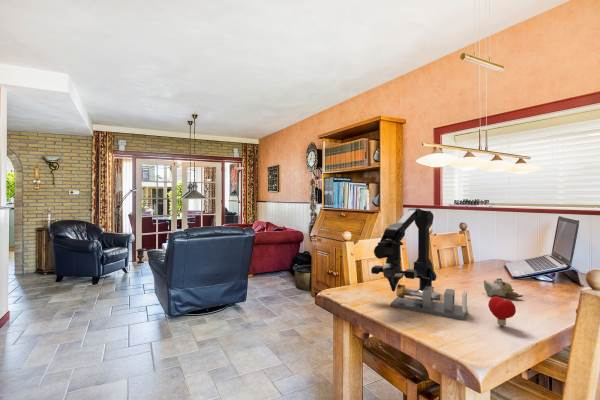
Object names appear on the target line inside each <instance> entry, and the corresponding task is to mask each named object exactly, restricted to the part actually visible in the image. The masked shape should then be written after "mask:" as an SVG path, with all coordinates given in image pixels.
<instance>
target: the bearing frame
mask: <svg viewBox="0 0 600 400" xmlns="http://www.w3.org/2000/svg"><path fill="white" fill-rule="evenodd" d="M432 292H433V293H435V287H434V286H432V287H431V286H426V287H425V288H424V289H423V298H416V297H410V296H405V297H404V298H399V297H397V296H396V298H394V299H393V301H391V302H390V307H392V308H396V309H401V310H402V309H403V310H407V311H411V312H412V311H413V312H417V313H423V314H428V315H433V316H434V315H436V316H441V317H444V318H449V319H456V320H460V321H461V320H462V321H465V319H466V316H467V313H468V303H467V302H468V291H466V290H464V291H463V293H462V295H461V297H462V299H461V301H462V302H461V303H462V304H461V305H458V304H455V302H456V301H455V298H456V295H455V289H451V288H446V289H445V291H444V293H443V302H441V301H435V300H431V293H432Z"/></svg>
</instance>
